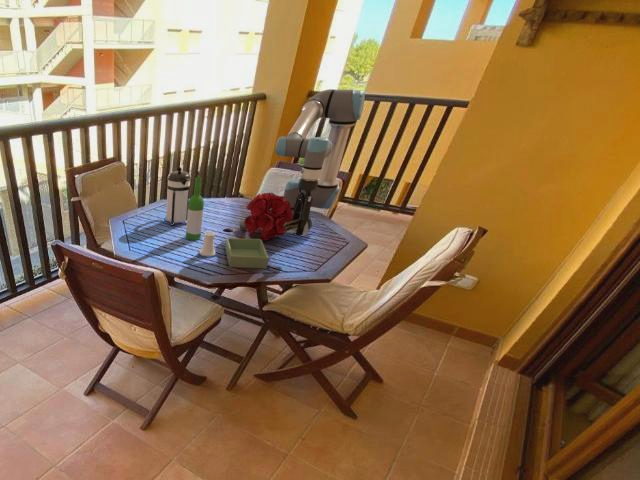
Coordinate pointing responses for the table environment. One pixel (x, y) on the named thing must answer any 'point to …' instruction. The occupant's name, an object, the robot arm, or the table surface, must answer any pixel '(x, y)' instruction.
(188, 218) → the wine bottle
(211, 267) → the table surface
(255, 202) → the bouquet
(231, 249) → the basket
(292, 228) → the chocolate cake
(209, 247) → the salt shaker
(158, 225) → the table surface
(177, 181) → the coffee press
